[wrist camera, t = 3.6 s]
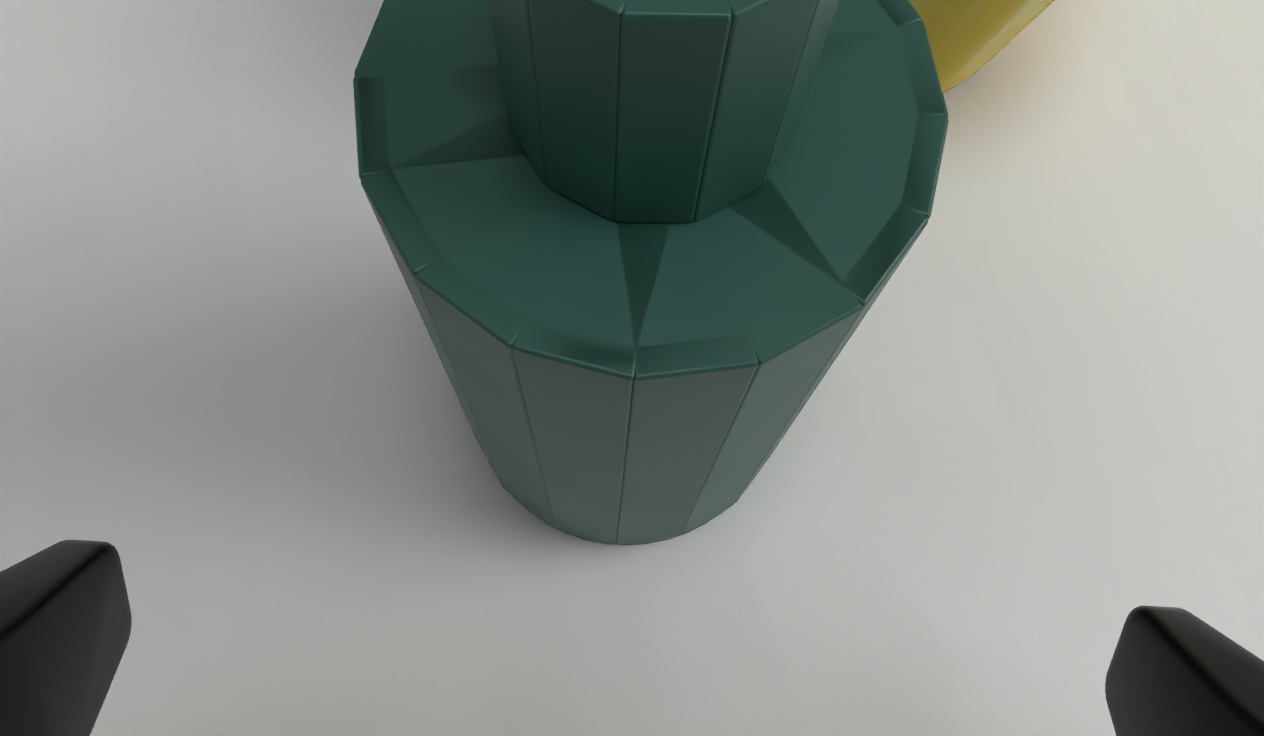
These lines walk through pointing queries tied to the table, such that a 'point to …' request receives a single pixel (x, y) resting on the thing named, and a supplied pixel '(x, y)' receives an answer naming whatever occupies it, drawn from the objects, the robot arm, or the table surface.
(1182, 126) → the table surface
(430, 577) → the table surface
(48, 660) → the robot arm
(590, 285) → the bottle
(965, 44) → the flower pot
